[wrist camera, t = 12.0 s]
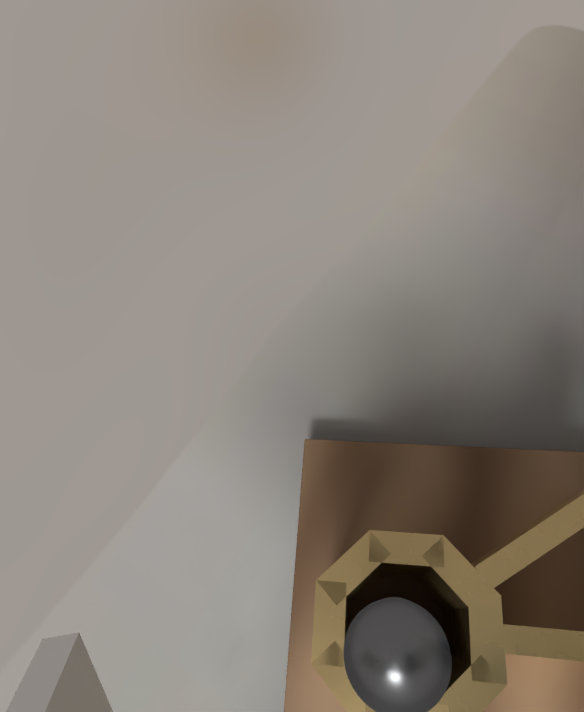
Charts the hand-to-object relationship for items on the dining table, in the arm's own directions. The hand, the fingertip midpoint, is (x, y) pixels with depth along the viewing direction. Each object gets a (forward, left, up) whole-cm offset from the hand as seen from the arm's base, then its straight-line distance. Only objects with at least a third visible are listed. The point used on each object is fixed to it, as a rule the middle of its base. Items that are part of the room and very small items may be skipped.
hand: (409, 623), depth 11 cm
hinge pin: (0, 0, -14) cm, 14 cm away
